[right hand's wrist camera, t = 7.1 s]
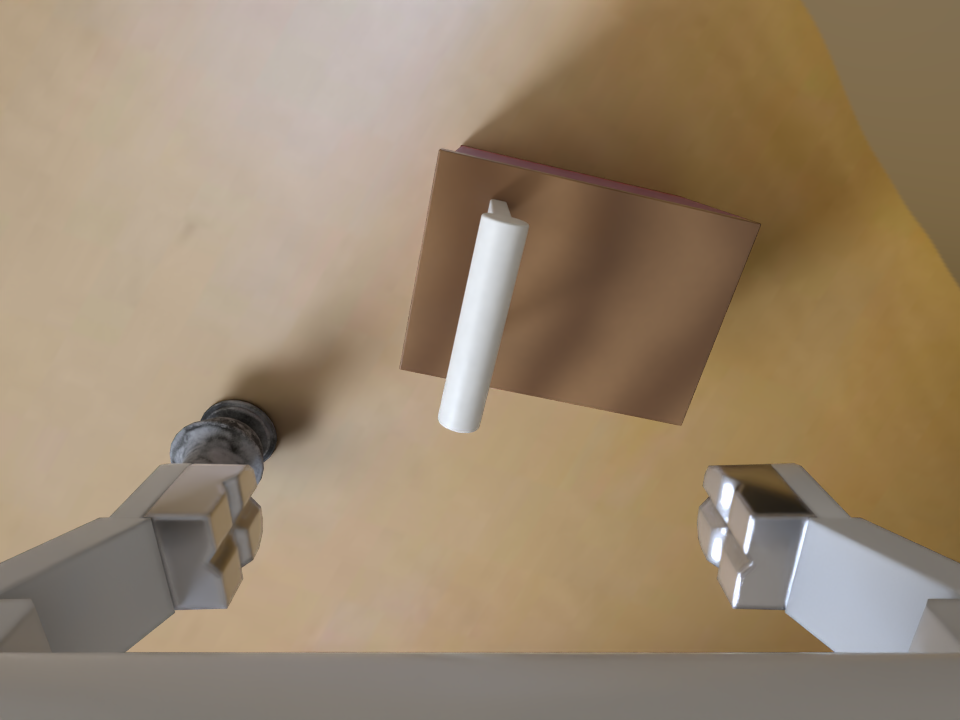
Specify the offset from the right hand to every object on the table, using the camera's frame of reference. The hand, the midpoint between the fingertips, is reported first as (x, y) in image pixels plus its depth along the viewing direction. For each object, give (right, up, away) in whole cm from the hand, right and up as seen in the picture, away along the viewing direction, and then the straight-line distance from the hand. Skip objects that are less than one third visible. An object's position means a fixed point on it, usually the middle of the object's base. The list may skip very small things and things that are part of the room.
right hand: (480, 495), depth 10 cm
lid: (+4, +6, +16) cm, 17 cm away
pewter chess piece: (-17, -3, +30) cm, 34 cm away
